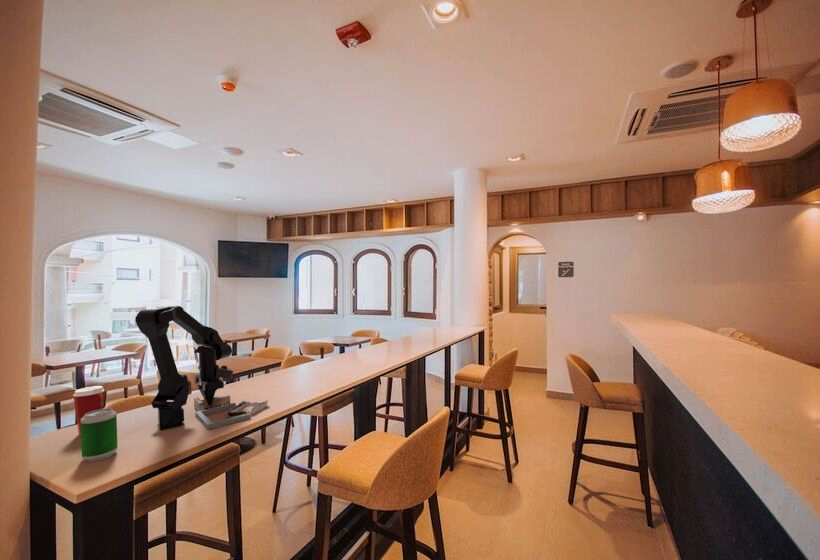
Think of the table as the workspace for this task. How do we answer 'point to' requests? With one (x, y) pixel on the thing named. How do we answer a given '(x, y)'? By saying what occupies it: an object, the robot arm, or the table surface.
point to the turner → (216, 401)
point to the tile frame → (210, 424)
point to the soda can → (98, 434)
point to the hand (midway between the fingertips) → (209, 404)
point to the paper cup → (87, 402)
